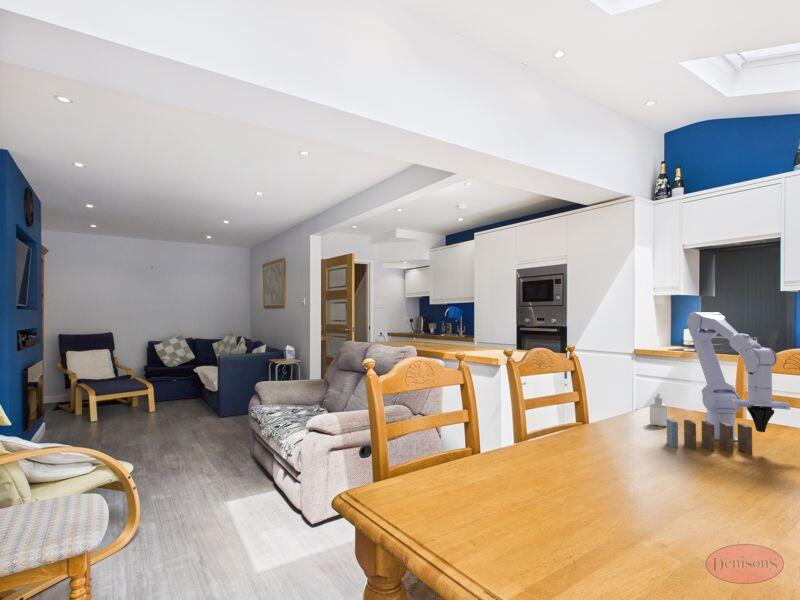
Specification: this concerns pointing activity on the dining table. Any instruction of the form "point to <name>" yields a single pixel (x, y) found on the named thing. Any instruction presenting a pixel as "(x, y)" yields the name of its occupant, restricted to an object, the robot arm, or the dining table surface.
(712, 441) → the domino
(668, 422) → the domino
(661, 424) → the eye dropper bottle
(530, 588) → the dining table surface
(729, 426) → the domino
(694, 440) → the domino
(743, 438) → the domino
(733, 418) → the robot arm
